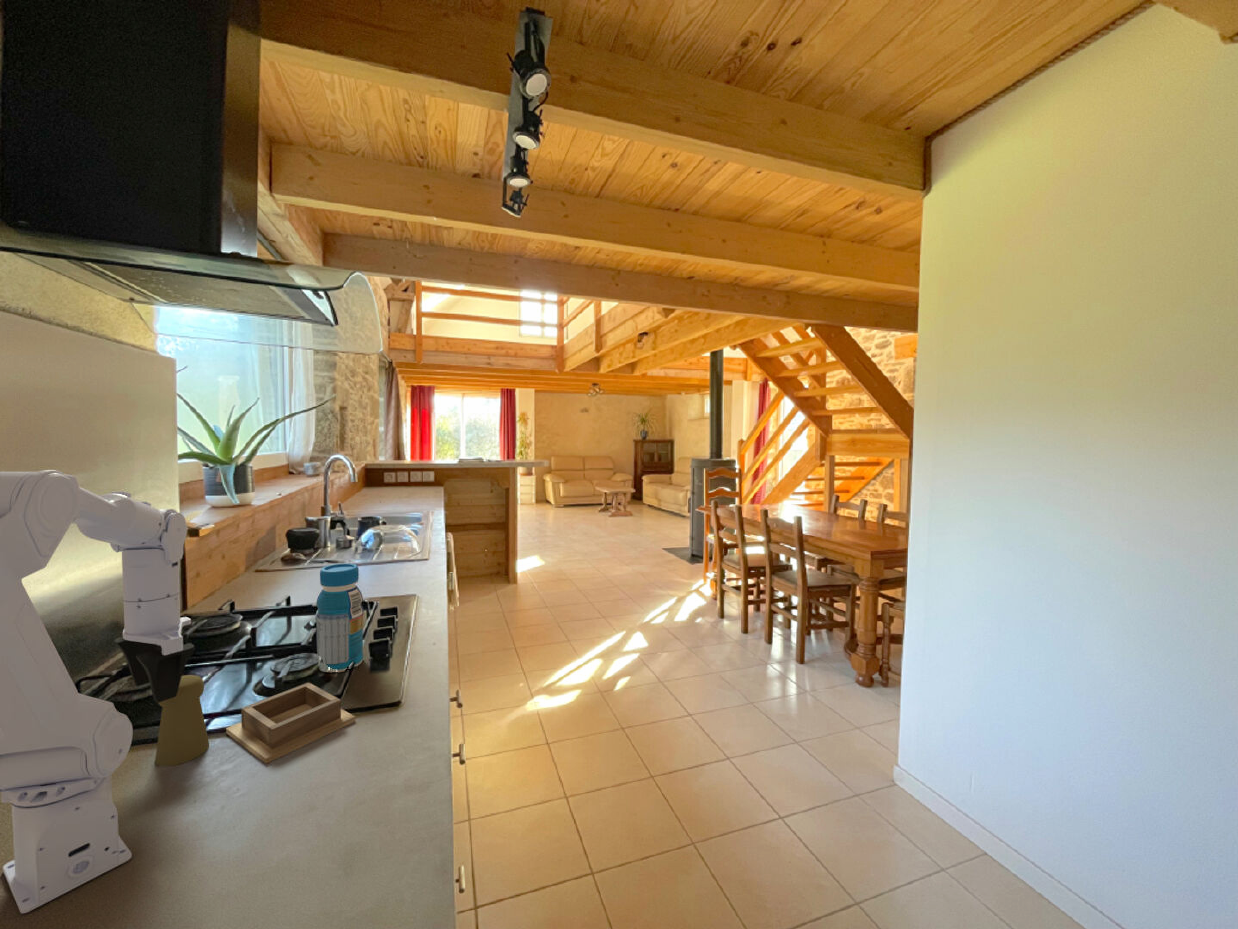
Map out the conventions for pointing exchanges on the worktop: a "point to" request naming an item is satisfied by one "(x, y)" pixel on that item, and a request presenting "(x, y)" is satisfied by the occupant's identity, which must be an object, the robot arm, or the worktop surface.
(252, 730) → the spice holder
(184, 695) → the cork
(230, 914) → the worktop surface
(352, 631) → the beverage bottle
